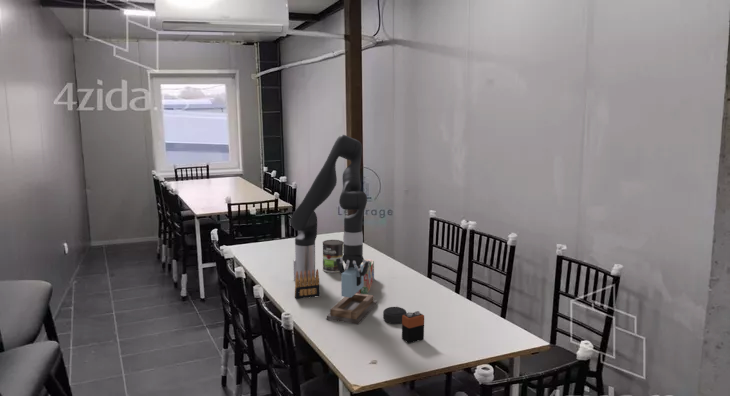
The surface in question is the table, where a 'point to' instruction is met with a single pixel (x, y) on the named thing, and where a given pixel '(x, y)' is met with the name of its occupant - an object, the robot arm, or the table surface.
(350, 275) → the blue grey rectangular block
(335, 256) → the coffee can
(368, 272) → the stack of blocks
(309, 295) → the ammunition clip
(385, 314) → the smart speaker
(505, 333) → the table surface
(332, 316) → the cradle
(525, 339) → the table surface
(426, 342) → the table surface
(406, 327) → the battery
